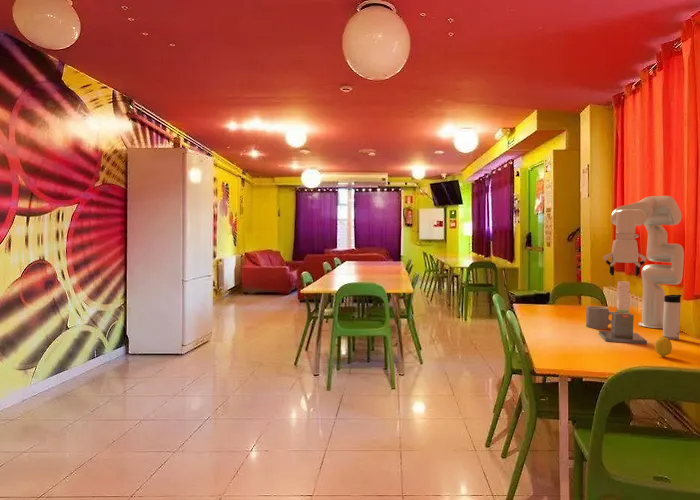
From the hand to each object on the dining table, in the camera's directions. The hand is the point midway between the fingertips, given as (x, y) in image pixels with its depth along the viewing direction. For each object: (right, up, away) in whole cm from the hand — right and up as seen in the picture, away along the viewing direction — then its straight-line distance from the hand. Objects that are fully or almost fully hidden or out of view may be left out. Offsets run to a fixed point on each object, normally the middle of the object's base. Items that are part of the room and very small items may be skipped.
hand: (624, 275), depth 220 cm
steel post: (-1, -21, +1) cm, 21 cm away
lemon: (-2, -30, -30) cm, 43 cm away
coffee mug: (+3, -28, +27) cm, 39 cm away
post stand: (-1, -29, +1) cm, 29 cm away
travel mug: (+23, -29, +3) cm, 37 cm away
